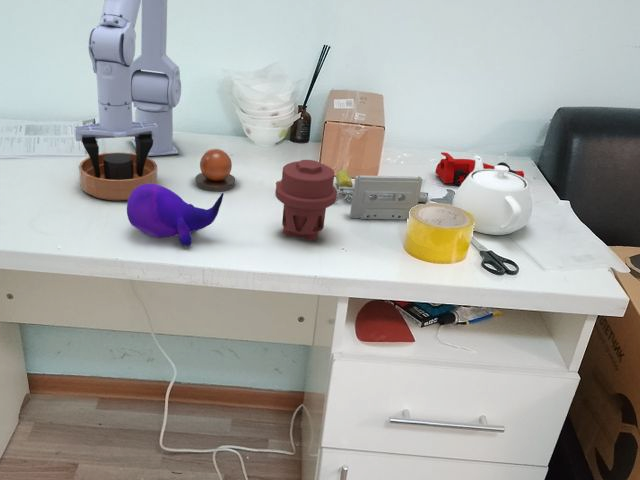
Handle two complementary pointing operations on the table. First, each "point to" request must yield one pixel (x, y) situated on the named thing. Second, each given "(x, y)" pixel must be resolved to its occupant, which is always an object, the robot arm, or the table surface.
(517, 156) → the table surface
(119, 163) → the cap
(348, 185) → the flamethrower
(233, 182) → the sphere on round base
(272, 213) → the table surface
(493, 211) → the teapot
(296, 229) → the mechanical component
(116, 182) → the round terracotta dish
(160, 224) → the toy
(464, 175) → the toy car
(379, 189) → the cassette
